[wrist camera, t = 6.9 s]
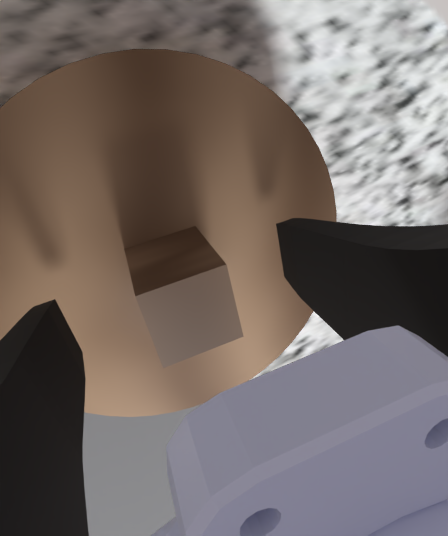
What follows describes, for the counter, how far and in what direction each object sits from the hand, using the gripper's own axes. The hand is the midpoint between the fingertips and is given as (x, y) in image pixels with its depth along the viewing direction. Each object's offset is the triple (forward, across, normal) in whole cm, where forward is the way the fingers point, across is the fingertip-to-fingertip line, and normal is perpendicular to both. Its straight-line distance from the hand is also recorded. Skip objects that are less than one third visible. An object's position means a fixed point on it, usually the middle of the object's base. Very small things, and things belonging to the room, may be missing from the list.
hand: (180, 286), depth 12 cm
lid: (+3, 0, 0) cm, 3 cm away
